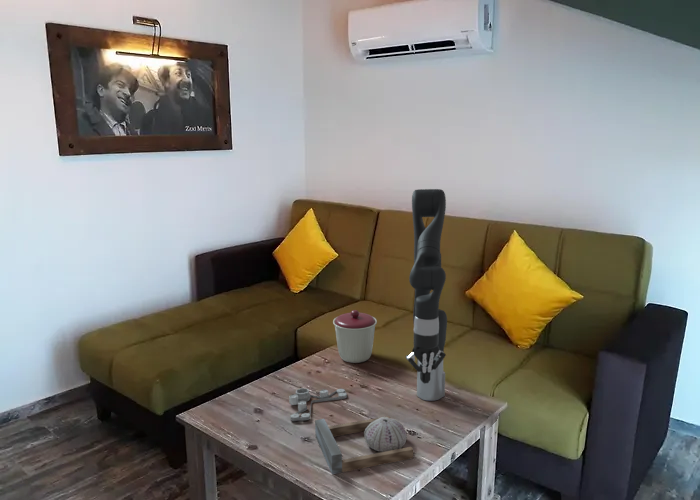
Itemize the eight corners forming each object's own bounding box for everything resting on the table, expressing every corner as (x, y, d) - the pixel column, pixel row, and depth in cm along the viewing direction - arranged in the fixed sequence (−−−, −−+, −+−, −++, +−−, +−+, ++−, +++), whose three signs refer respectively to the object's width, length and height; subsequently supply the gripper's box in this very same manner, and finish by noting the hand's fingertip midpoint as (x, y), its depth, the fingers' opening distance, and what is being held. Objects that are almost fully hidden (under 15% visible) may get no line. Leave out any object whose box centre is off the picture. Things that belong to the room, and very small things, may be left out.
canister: (324, 359, 238) (323, 311, 233) (352, 345, 251) (352, 300, 246) (358, 371, 226) (357, 321, 221) (385, 356, 240) (385, 309, 235)
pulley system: (269, 415, 197) (301, 426, 187) (268, 402, 196) (300, 413, 186) (321, 387, 218) (352, 397, 208) (321, 376, 217) (352, 384, 207)
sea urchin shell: (414, 438, 180) (414, 416, 178) (395, 461, 168) (395, 437, 166) (376, 427, 186) (376, 405, 184) (356, 448, 175) (356, 425, 173)
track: (389, 424, 188) (389, 407, 187) (413, 458, 169) (413, 440, 168) (315, 437, 181) (315, 420, 180) (332, 474, 162) (331, 455, 161)
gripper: (440, 323, 178) (439, 374, 182) (401, 328, 174) (400, 380, 178) (451, 331, 171) (449, 384, 175) (410, 337, 167) (410, 390, 171)
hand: (425, 382), depth 177 cm, fingers closed
